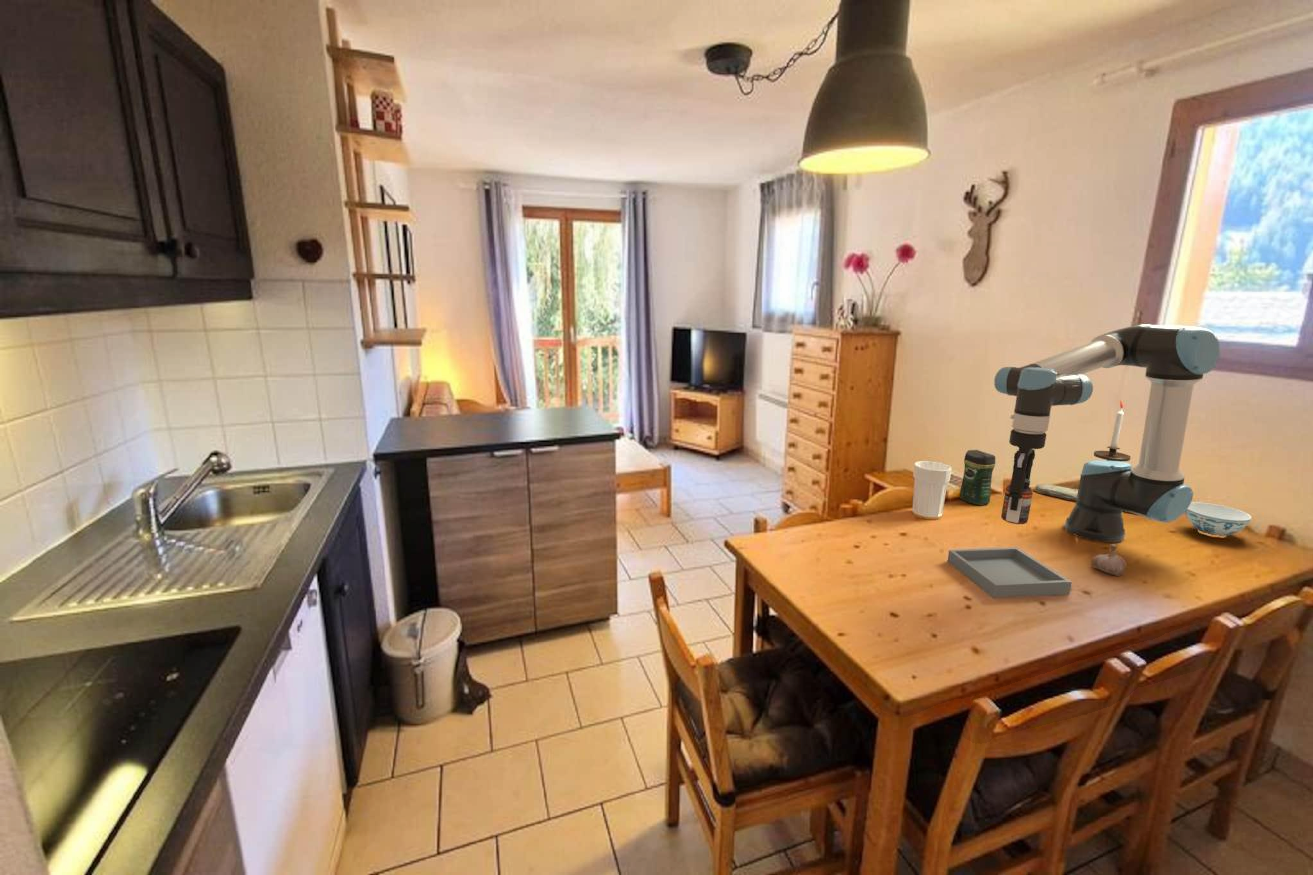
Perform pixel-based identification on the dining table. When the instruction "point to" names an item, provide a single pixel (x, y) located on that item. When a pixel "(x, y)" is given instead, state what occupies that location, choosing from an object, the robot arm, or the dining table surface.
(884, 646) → the dining table surface
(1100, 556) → the garlic bulb
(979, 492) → the coffee jar
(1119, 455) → the candlestick
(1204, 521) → the chinaware
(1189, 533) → the dining table surface
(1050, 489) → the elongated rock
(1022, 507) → the supplement bottle
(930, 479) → the cup
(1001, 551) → the tray
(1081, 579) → the dining table surface
